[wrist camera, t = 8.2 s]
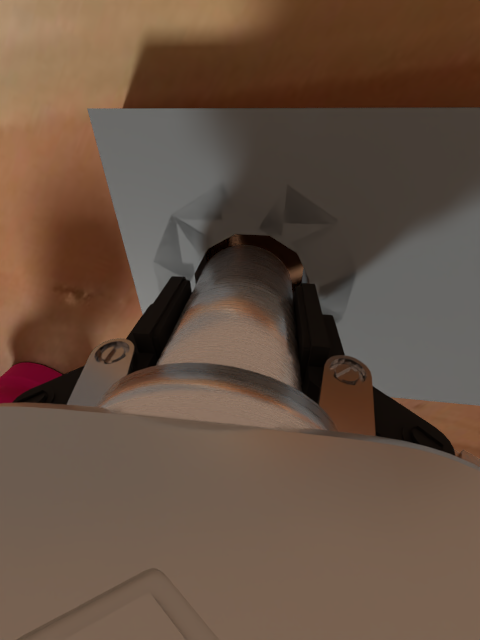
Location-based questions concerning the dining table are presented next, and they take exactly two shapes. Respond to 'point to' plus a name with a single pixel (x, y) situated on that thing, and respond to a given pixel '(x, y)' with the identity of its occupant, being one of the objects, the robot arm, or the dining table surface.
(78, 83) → the dining table surface
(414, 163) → the plate
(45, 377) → the pepper mill
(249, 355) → the grey cylindrical piece
